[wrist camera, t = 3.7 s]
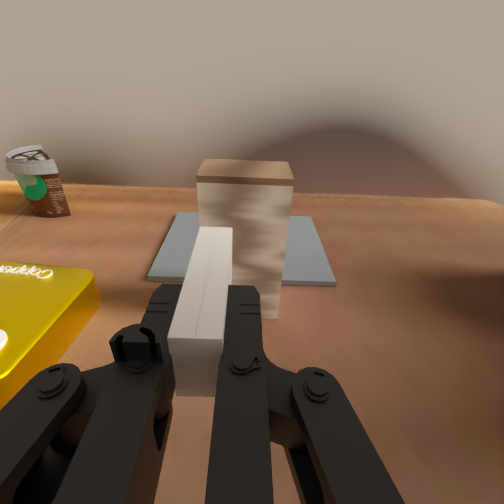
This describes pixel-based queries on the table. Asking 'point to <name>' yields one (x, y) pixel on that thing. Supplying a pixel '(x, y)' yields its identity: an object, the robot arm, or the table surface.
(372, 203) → the table surface
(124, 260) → the table surface
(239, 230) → the tall block
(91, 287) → the element tile
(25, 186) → the food container
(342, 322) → the table surface
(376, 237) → the table surface
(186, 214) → the mat
